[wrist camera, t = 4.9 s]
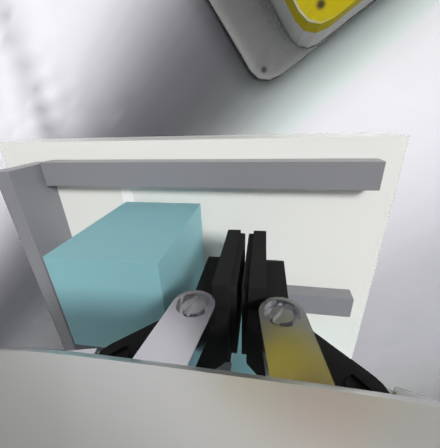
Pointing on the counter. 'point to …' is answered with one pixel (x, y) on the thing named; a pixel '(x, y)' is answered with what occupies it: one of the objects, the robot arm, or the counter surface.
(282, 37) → the emergency button
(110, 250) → the teal rectangular block
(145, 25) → the counter surface
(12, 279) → the counter surface
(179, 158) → the white ridged tray
